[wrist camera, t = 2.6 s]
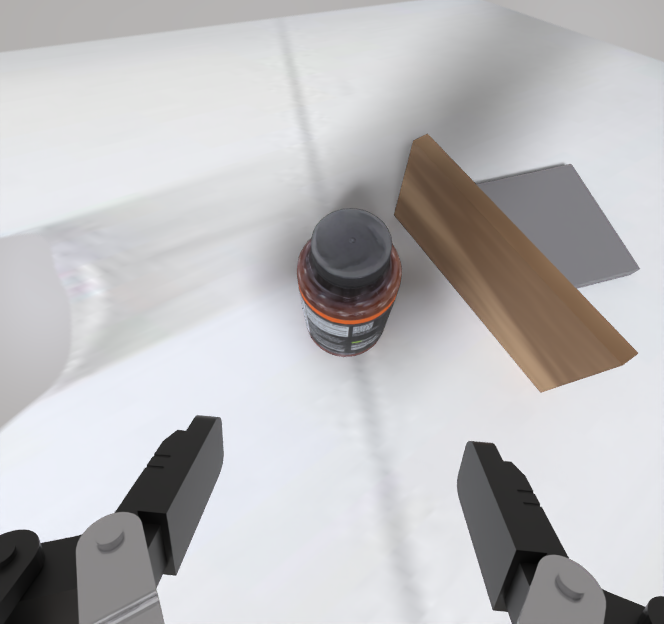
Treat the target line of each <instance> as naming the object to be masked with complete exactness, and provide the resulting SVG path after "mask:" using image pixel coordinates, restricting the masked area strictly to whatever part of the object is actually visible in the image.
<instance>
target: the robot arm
mask: <svg viewBox="0 0 664 624" xmlns="http://www.w3.org/2000/svg"><path fill="white" fill-rule="evenodd" d="M223 456H224V451H223V435H222V421H221V418H220V417H211V416H200V415H197V416H196V417H195V418H194V419H193V421H192V422H191V424H190V426H189V427H188V429H187V430H186V431H183V430H177V431H175V432H174V433H173V434H172V435H170V436H169V437H168V438H166V439H165V440H164V441H163V442H162V444H161V445H160V447H159V448H158V449H157V451H156V452H155V454H154V457H152V458H151V460H150V461H149V463H148V464H147V467H146V468H145V469H144V470H143V472H142V473H141V475H140V476H139V478H138V479H137V481H136V482H135V484H134V485H133V486H132V488H131V489H130V491H129V492H128V494H127V495H126V497H125V498H124V500H123V501H122V503H121V504H120V506H119V507H118V509H117V510H116V511H115V513H113V514H110V515H107V516H105V517H103V518H101V519H99V520H97V521H96V522H95V523H93V524H92V525H91V526H90V527H89V528H87V530H86V531H85V532H84V533H83V534H82V535H78V536H74V537H70V538H65V539H59V540H54V541H49V542H44V543H40V540H39V538H38V536H37V534H36V533H34V532H33V531H30V530H15V531H11V532H7V533H4V534H2V535H0V624H164V619H163V615H162V610H161V606H160V601H159V597H158V594H157V590H156V588H157V586H158V583H159V581H160V579H161V577H162V575H163V574H166V575H175V576H176V575H177V572H178V570H179V568H180V565H181V563H182V561H183V558H184V556H185V554H186V551H187V549H188V547H189V544H190V542H191V540H192V537H193V535H194V533H195V530H196V528H197V526H198V523H199V521H200V519H201V516H202V514H203V512H204V509H205V507H206V505H207V502H208V500H209V498H210V495H211V493H212V491H213V488H214V486H215V484H216V481H217V479H218V477H219V474H220V471H221V468H222V464H223ZM457 490H458V496H459V500H460V503H461V507H462V510H463V513H464V517H465V520H466V523H467V526H468V530H469V533H470V536H471V540H472V543H473V546H474V550H475V553H476V556H477V559H478V563H479V566H480V569H481V573H482V576H483V579H484V583H485V586H486V589H487V593H488V596H489V599H490V602H491V606H492V609H493V610H495V611H505V612H508V613H509V616H510V619H511V622H512V624H664V597H663V596H659V597H654V598H652V599H651V600H650V601H649V603H648V604H647V606H646V607H644V606H642V605H639V604H637V603H634V602H632V601H629V600H627V599H624V598H622V597H619V596H617V595H614V594H612V593H610V592H607V591H605V590H603V589H602V588H601V587H600V585H599V584H598V582H597V581H596V580H595V578H594V577H593V576H592V575H591V574H590V573H589V572H588V571H587V570H586V569H585V568H583V567H582V566H581V565H579V564H578V563H576V562H574V561H573V560H571V559H569V557H568V556H567V554H566V552H565V550H564V548H563V546H562V544H561V543H560V541H559V539H558V537H557V535H556V533H555V531H554V529H553V527H552V526H551V524H550V522H549V520H548V518H547V516H546V514H545V512H544V510H543V509H542V507H540V503H539V501H538V499H537V497H536V495H535V494H533V490H532V488H531V486H530V484H529V482H528V480H527V478H526V477H525V475H524V474H523V473H522V472H521V471H520V470H519V469H518V468H517V467H516V466H515V465H514V464H513V463H512V462H507V461H503V460H502V458H501V456H500V454H499V452H498V450H497V448H496V446H495V445H494V444H493V443H486V442H475V441H468V442H467V444H466V447H465V451H464V455H463V458H462V462H461V466H460V470H459V474H458V479H457Z"/></svg>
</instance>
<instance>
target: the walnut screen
mask: <svg viewBox="0 0 664 624" xmlns="http://www.w3.org/2000/svg"><path fill="white" fill-rule="evenodd" d="M394 215H395V217H396V218H397V219H398V220H399V221H400V223H401V224H402V225H403V226H404V228H405V229H406V230H407V231H408V232H409V234H410V235H411V236H412V237H413V238H414V240H415V241H416V242H417V243H418V245H419V246H420V247H421V248H422V249H423V251H424V252H425V253H426V254H427V255H428V257H429V258H430V259H431V260H432V261H433V263H434V264H435V265H436V266H437V268H438V269H439V270H440V271H441V272H442V274H443V275H444V276H445V277H446V278H447V280H448V281H449V282H450V283H451V285H452V286H453V287H454V288H455V289H456V291H457V292H458V293H459V294H460V295H461V297H462V298H463V299H464V300H465V301H466V303H467V304H468V305H469V306H470V308H471V309H472V310H473V311H474V312H475V314H476V315H477V316H478V317H479V318H480V320H481V321H482V322H483V323H484V325H485V326H486V327H487V328H488V329H489V331H490V332H491V333H492V334H493V335H494V337H495V338H496V339H497V340H498V342H499V343H500V344H501V345H502V346H503V348H504V349H505V350H506V351H507V352H508V354H509V355H510V356H511V357H512V358H513V360H514V361H515V362H516V363H517V365H518V366H519V367H520V368H521V369H522V371H523V372H524V373H525V374H526V375H527V377H528V378H529V379H530V380H531V382H532V383H533V384H534V385H535V386H536V388H537V389H538V390H539V391H540V392H544V391H547V390H550V389H553V388H556V387H559V386H562V385H565V384H568V383H571V382H574V381H577V380H580V379H583V378H586V377H589V376H592V375H595V374H598V373H601V372H604V371H607V370H610V369H613V368H616V367H619V366H622V365H624V364H625V363H626V362H628V361H629V360H630V359H632V358H633V357H634V356H636V355H637V354H638V352H637V351H636V350H635V349H634V348H633V347H632V346H631V345H630V344H629V343H628V342H627V341H626V340H625V339H624V338H623V337H622V336H621V335H620V334H619V332H618V331H617V330H616V329H615V328H614V327H613V326H612V325H611V324H610V323H609V322H608V321H607V320H606V319H605V318H604V317H603V316H602V315H601V314H600V313H599V312H598V311H597V310H596V309H595V307H594V306H593V305H592V304H591V303H590V302H589V301H588V300H587V299H586V298H585V297H584V296H583V295H582V294H581V293H580V292H579V291H578V290H577V289H576V288H575V287H574V286H573V285H572V284H571V283H570V281H569V280H568V279H567V278H566V277H565V276H564V275H563V274H562V273H561V272H560V271H559V270H558V269H557V268H556V267H555V266H554V265H553V264H552V263H551V262H550V261H549V260H548V259H547V258H546V256H545V255H544V254H543V253H542V252H541V251H540V250H539V249H538V248H537V247H536V246H535V245H534V244H533V243H532V242H531V241H530V240H529V239H528V238H527V237H526V236H525V235H524V234H523V233H522V231H521V230H520V229H519V228H518V227H517V226H516V225H515V224H514V223H513V222H512V221H511V220H510V219H509V218H508V217H507V216H506V215H505V214H504V213H503V212H502V211H501V210H500V209H499V208H498V206H497V205H496V204H495V203H494V202H493V201H492V200H491V199H490V198H489V197H488V196H487V195H486V194H485V193H484V192H483V191H482V190H481V189H480V188H479V187H478V186H477V185H476V184H475V183H474V182H473V180H472V179H471V178H470V177H469V176H468V175H467V174H466V173H465V172H464V171H463V170H462V169H461V168H460V167H459V166H458V165H457V164H456V163H455V162H454V161H453V160H452V159H451V158H450V157H449V155H448V154H447V153H446V152H445V151H444V150H443V149H442V148H441V147H440V146H439V145H438V144H437V143H436V142H435V141H434V140H433V139H432V138H431V137H430V136H429V135H428V134H426V135H424V136H422V137H420V138H418V139H416V140H414V141H413V143H412V147H411V151H410V155H409V159H408V163H407V167H406V171H405V174H404V178H403V182H402V186H401V190H400V194H399V198H398V202H397V205H396V209H395V213H394Z"/></svg>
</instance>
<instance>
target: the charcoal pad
mask: <svg viewBox="0 0 664 624" xmlns="http://www.w3.org/2000/svg"><path fill="white" fill-rule="evenodd" d="M476 185H477V186H478V187H479V188H480V189H481V190H482V191H483V192H484V193H485V194H486V195H487V196H488V197H489V198H490V199H491V200H492V201H493V202H494V203H495V204H496V205H497V206H498V208H499V209H500V210H501V211H502V212H503V213H504V214H505V215H506V216H507V217H508V218H509V219H510V220H511V221H512V222H513V223H514V224H515V225H516V226H517V227H518V228H519V229H520V230H521V231H522V233H523V234H524V235H525V236H526V237H527V238H528V239H529V240H530V241H531V242H532V243H533V244H534V245H535V246H536V247H537V248H538V249H539V250H540V251H541V252H542V253H543V254H544V255H545V256H546V258H547V259H548V260H549V261H550V262H551V263H552V264H553V265H554V266H555V267H556V268H557V269H558V270H559V271H560V272H561V273H562V274H563V275H564V276H565V277H566V278H567V279H568V280H569V281H570V283H571V284H572V285H573V286H574V287H575V288H580V287H584V286H588V285H592V284H596V283H600V282H604V281H608V280H612V279H616V278H620V277H624V276H628V275H631V274H632V273H634V272H636V271H637V270H639V269H640V268H639V266H638V265H637V263H636V262H635V260H634V259H633V257H632V256H631V254H630V253H629V251H628V250H627V248H626V247H625V245H624V244H623V242H622V240H621V239H620V237H619V236H618V234H617V233H616V231H615V230H614V228H613V227H612V225H611V224H610V222H609V221H608V219H607V218H606V216H605V214H604V213H603V211H602V210H601V208H600V207H599V205H598V204H597V202H596V201H595V199H594V198H593V196H592V195H591V193H590V192H589V190H588V188H587V187H586V185H585V184H584V182H583V181H582V179H581V178H580V176H579V175H578V173H577V172H576V170H575V169H574V167H573V166H572V164H568V165H563V166H559V167H554V168H549V169H545V170H540V171H536V172H531V173H526V174H522V175H517V176H512V177H508V178H503V179H499V180H494V181H489V182H485V183H480V184H476Z"/></svg>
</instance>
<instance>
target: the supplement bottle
mask: <svg viewBox="0 0 664 624" xmlns="http://www.w3.org/2000/svg"><path fill="white" fill-rule="evenodd" d="M401 276H402V269H401V262H400V258H399V255H398V253H397V251H396V249H395V247H394V246H393V244H392V240H391V235H390V232H389V230H388V228H387V227H386V225H385V224H384V223H383V222H382V221H381V220H380V219H379V218H378V217H376V216H375V215H373V214H371V213H370V212H367V211H364V210H360V209H354V208H349V209H341V210H338V211H335V212H332V213H330V214H328V215H327V216H325V217H324V218H323V219H322V220H321V221H320V222H319V223H318V224H317V225H316V227H315V229H314V231H313V234H312V238H311V239H310V240H309V241H308V242H307V243H306V244H305V246H304V247H303V249H302V251H301V253H300V256H299V259H298V264H297V279H298V284H299V291H300V296H301V301H302V306H303V308H302V309H303V310H304V315H305V320H306V324H307V328H308V331H309V333H310V335H311V338H312V339H313V341H314V342H315V343H316V344H317V345H318V346H319V347H320V348H321V349H323V350H324V351H326V352H328V353H330V354H333V355H336V356H341V357H346V356H356V355H359V354H362V353H364V352H365V351H367V350H369V349H370V348H371V347H373V346H374V345H375V344H376V342H377V341H378V339H379V338H380V336H381V334H382V332H383V330H384V327H385V324H386V322H387V319H388V317H389V314H390V311H391V309H392V306H393V303H394V301H395V298H396V295H397V292H398V289H399V286H400V282H401Z"/></svg>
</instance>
